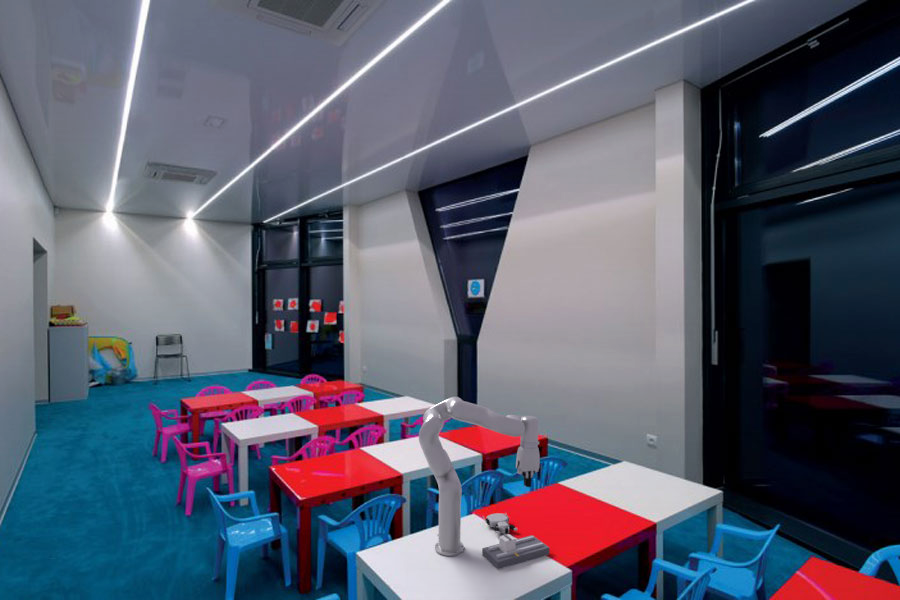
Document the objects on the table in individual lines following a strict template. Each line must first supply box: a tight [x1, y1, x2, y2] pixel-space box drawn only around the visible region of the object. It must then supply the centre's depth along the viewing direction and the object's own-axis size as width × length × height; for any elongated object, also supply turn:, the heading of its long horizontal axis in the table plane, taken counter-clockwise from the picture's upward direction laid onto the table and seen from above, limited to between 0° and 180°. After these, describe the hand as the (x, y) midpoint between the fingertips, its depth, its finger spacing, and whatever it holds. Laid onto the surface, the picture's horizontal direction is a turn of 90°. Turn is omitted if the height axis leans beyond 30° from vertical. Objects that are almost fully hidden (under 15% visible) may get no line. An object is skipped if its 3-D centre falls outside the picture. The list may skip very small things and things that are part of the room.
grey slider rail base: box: [481, 534, 550, 570], centre depth 201 cm, size 12×26×4 cm, turn 117°
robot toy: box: [482, 512, 518, 535], centre depth 225 cm, size 12×4×15 cm
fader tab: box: [498, 533, 516, 553], centre depth 200 cm, size 5×5×6 cm
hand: (527, 486), depth 211 cm, fingers closed
